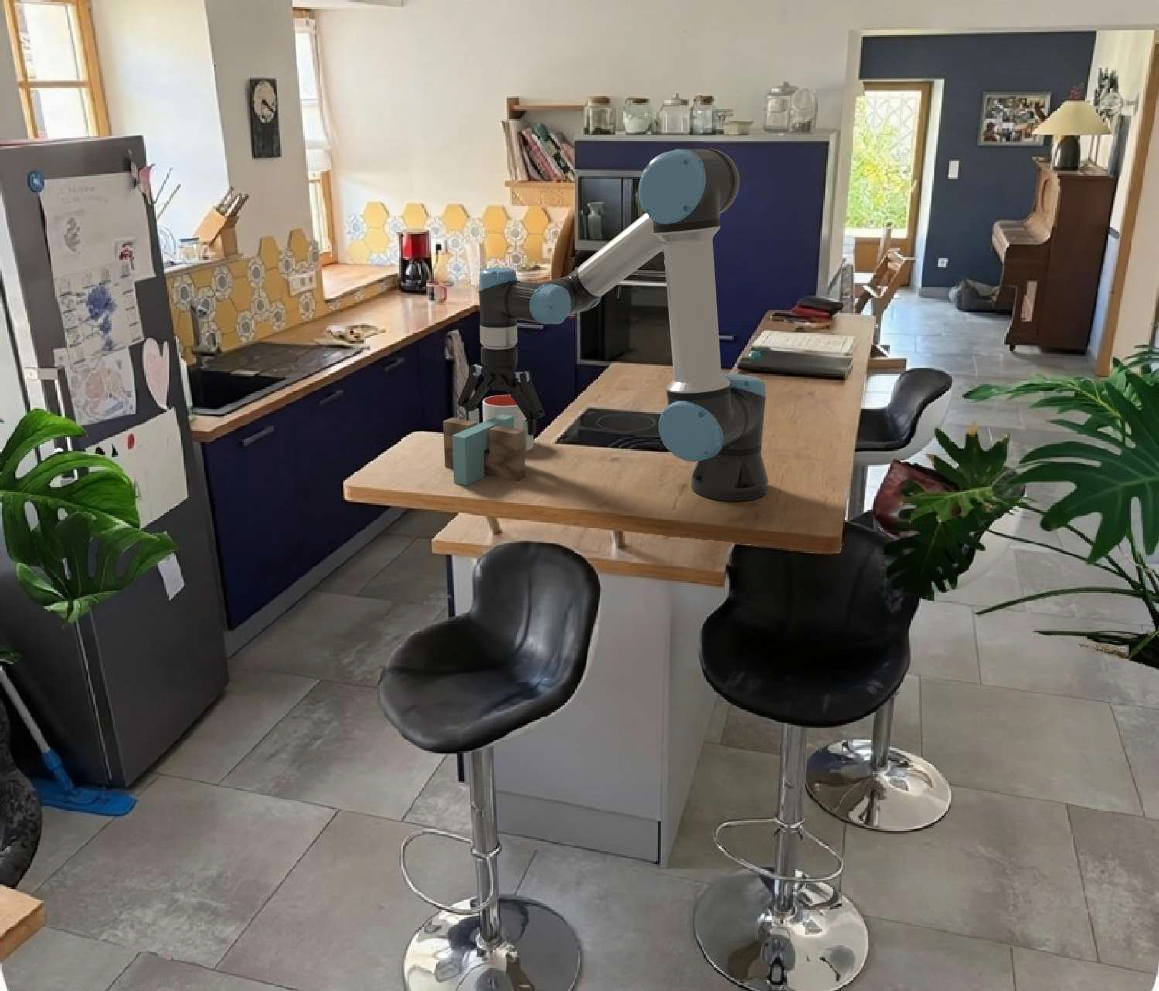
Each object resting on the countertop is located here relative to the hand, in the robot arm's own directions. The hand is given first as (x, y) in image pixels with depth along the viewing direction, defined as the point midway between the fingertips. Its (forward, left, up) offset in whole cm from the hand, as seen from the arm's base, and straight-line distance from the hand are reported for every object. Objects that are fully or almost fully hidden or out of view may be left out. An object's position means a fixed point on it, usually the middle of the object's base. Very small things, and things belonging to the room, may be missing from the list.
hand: (501, 444), depth 216 cm
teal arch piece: (0, +6, -4) cm, 8 cm away
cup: (+7, -12, -4) cm, 15 cm away
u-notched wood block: (0, +6, -4) cm, 8 cm away
